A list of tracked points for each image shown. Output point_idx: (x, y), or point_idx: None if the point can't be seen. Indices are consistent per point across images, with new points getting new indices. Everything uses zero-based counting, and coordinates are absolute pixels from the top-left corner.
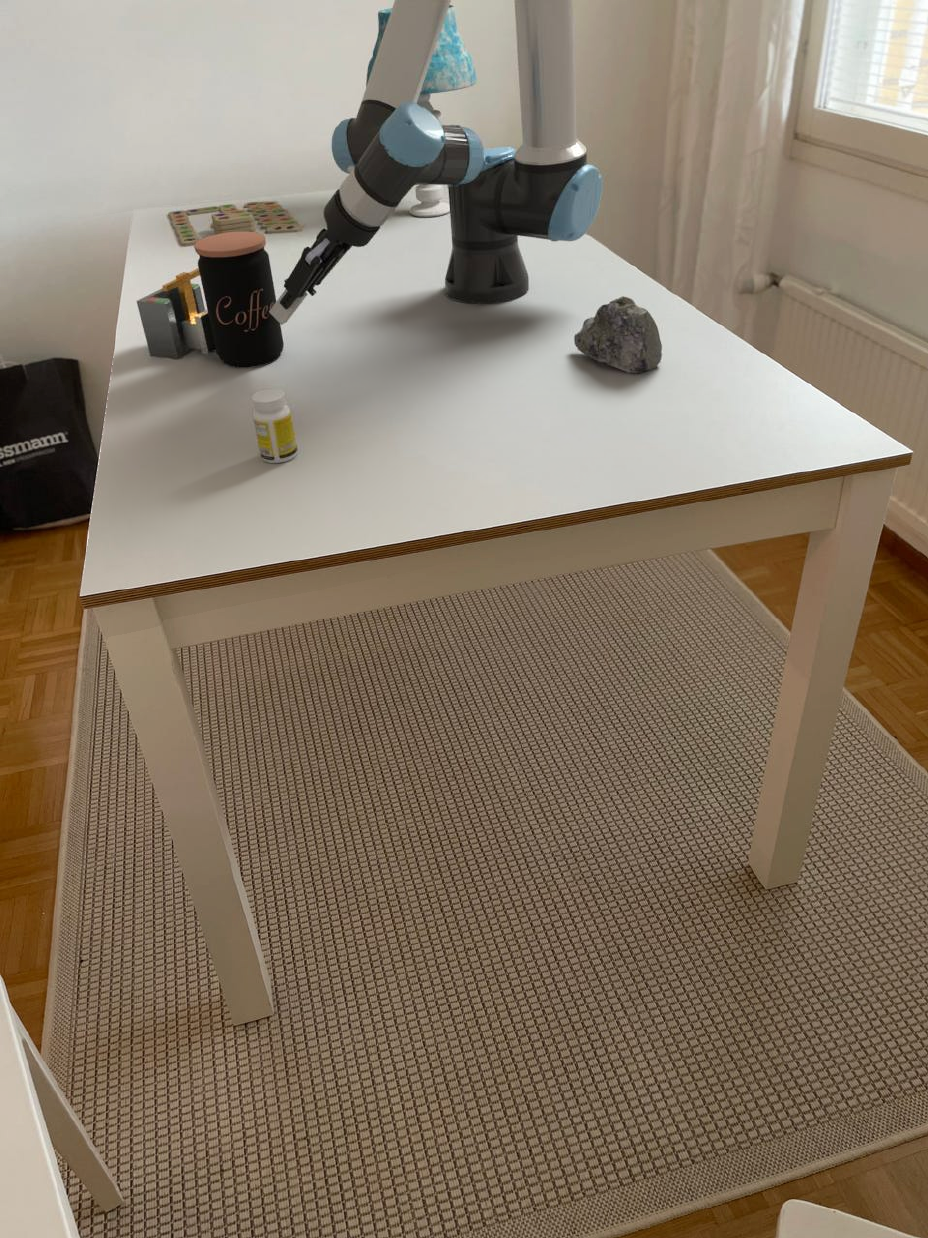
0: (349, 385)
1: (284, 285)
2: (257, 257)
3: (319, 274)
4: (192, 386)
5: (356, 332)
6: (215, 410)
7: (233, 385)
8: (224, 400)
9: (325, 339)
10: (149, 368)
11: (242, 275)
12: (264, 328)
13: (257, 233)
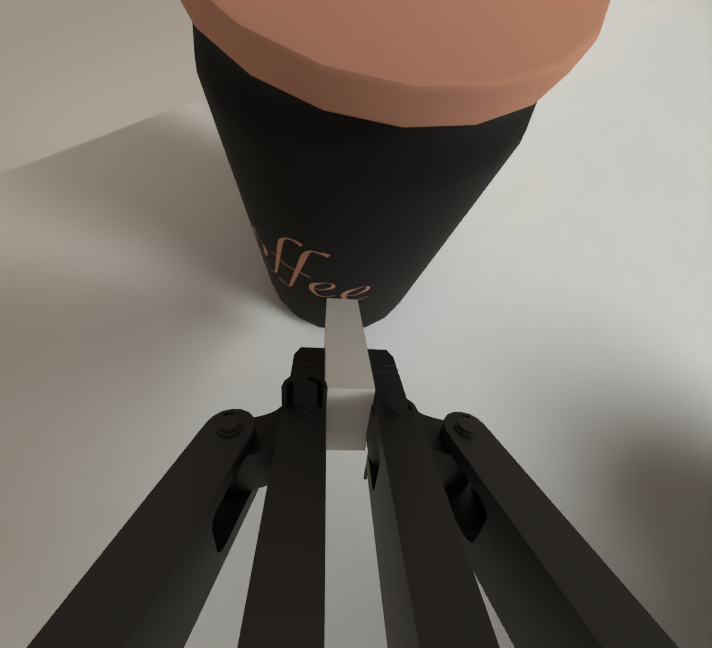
0: (225, 597)
1: (205, 426)
2: (361, 152)
3: (383, 594)
4: (172, 232)
5: (526, 422)
6: (44, 340)
7: (188, 308)
8: (103, 331)
9: (468, 372)
10: None
11: (247, 163)
12: (309, 300)
13: (596, 2)
